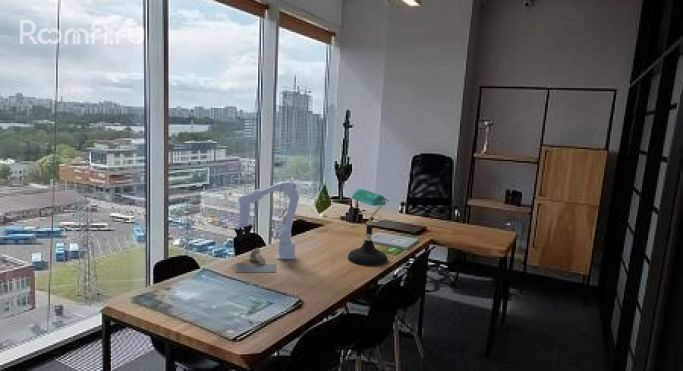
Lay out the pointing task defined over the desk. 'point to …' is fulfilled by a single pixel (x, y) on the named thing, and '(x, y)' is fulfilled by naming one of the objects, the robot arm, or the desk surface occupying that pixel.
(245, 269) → the charcoal mat
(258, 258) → the rough beige rock
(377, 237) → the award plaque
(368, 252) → the banker's lamp
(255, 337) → the desk surface
